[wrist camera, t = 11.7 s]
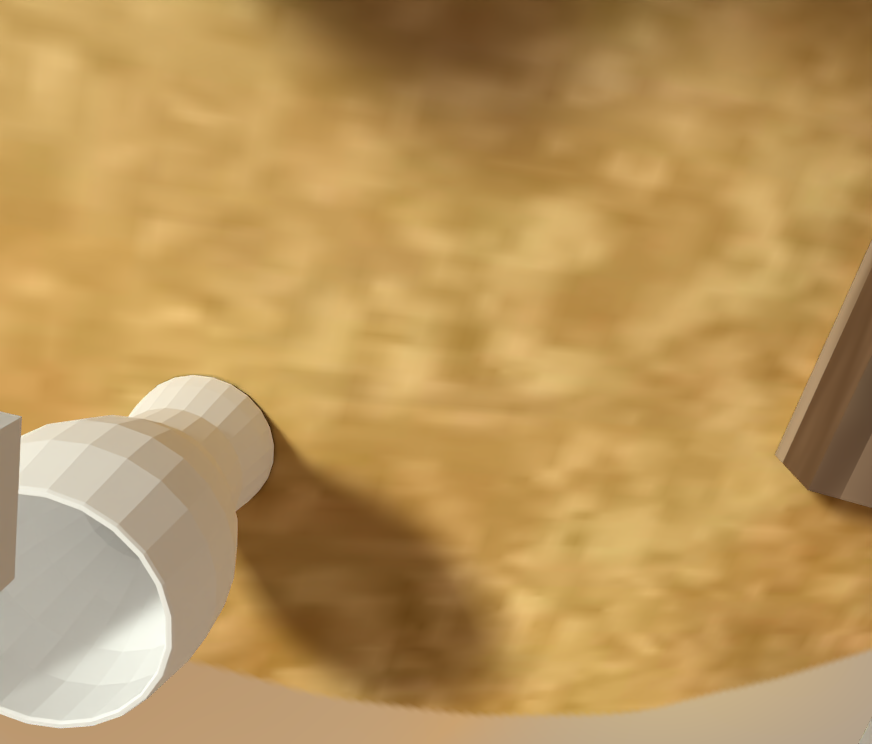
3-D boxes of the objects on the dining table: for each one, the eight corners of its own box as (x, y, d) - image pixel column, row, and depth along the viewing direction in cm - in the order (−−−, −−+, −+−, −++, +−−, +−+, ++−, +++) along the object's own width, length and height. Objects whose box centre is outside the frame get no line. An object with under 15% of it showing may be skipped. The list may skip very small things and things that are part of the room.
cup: (334, 409, 38) (240, 566, 23) (252, 564, 41) (124, 787, 26) (148, 311, 37) (-68, 411, 23) (79, 476, 40) (-151, 658, 26)
